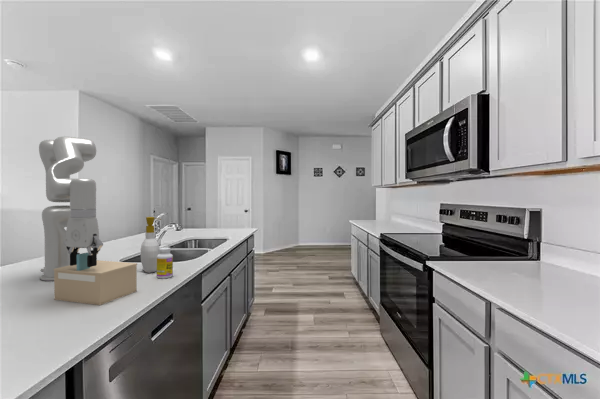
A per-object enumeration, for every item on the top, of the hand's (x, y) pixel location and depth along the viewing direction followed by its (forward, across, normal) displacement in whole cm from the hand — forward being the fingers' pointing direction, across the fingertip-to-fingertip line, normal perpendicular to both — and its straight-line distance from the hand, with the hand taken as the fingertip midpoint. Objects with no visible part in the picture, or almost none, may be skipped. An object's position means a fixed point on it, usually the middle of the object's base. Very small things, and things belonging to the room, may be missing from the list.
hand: (83, 265), depth 111 cm
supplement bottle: (+12, +6, +34) cm, 37 cm away
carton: (+12, 0, +6) cm, 13 cm away
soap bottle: (+12, -8, +42) cm, 45 cm away
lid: (+2, 0, +6) cm, 6 cm away
